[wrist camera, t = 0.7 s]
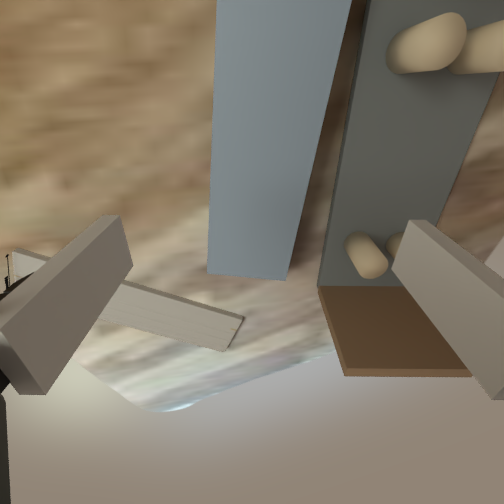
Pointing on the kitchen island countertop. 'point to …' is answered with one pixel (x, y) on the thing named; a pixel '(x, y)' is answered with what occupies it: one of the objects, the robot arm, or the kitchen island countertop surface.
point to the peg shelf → (402, 173)
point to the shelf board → (267, 126)
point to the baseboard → (152, 309)
